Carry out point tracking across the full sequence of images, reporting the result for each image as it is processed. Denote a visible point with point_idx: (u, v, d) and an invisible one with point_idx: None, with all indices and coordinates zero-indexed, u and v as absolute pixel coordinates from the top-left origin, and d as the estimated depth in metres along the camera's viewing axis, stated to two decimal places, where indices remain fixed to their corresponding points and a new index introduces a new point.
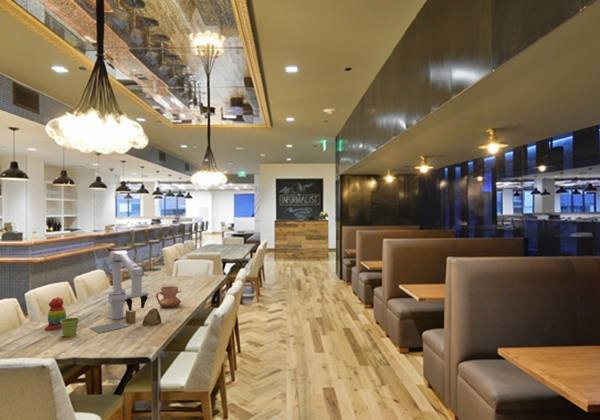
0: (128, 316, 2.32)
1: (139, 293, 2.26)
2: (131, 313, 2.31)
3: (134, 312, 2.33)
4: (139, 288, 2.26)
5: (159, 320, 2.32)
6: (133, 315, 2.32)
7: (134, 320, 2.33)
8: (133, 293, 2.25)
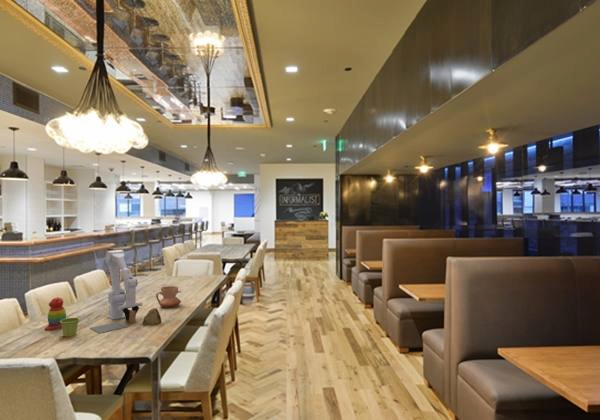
0: None
1: (133, 303, 2.33)
2: (131, 313, 2.31)
3: (134, 312, 2.33)
4: (133, 299, 2.33)
5: (159, 320, 2.32)
6: (133, 315, 2.32)
7: (134, 320, 2.33)
8: (127, 304, 2.31)
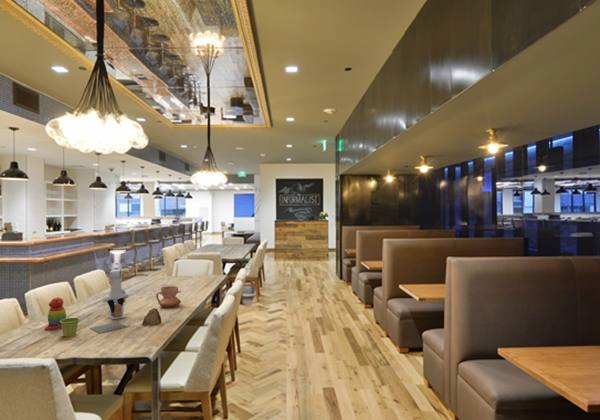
0: (114, 310, 2.23)
1: (118, 295, 2.24)
2: (117, 307, 2.22)
3: (120, 306, 2.23)
4: (118, 290, 2.24)
5: (159, 320, 2.32)
6: (119, 309, 2.23)
7: (120, 314, 2.24)
8: (112, 295, 2.22)
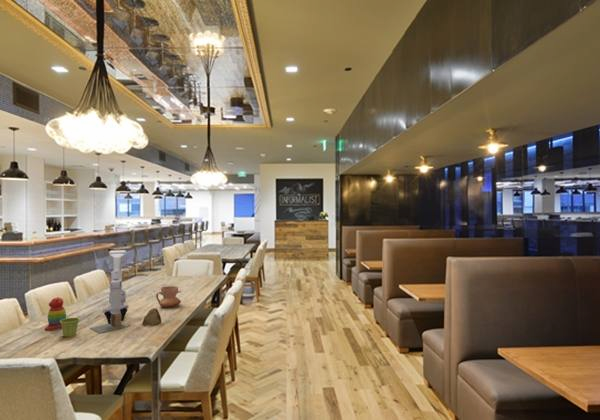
0: (113, 320, 2.23)
1: (118, 306, 2.24)
2: (117, 316, 2.22)
3: (120, 315, 2.23)
4: (118, 301, 2.24)
5: (159, 320, 2.32)
6: (119, 319, 2.23)
7: (120, 324, 2.23)
8: (112, 306, 2.22)
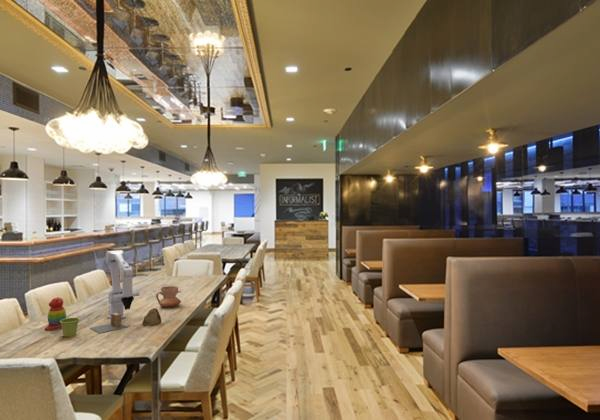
0: (113, 320, 2.23)
1: (130, 293, 2.29)
2: (117, 316, 2.22)
3: (120, 315, 2.23)
4: (130, 288, 2.29)
5: (159, 320, 2.32)
6: (119, 319, 2.23)
7: (120, 324, 2.23)
8: (124, 293, 2.28)
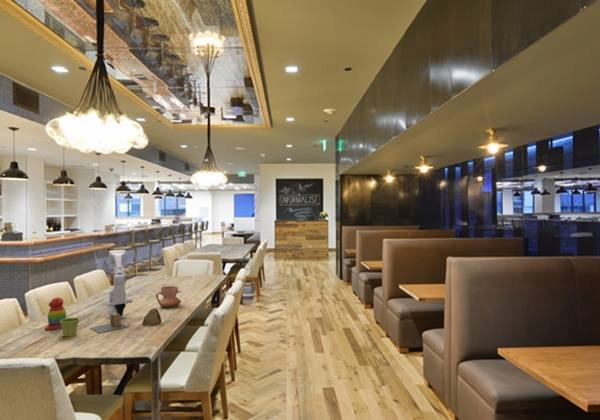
0: (113, 320, 2.22)
1: (122, 300, 2.25)
2: (116, 317, 2.22)
3: (119, 315, 2.23)
4: (122, 295, 2.25)
5: (159, 320, 2.32)
6: (118, 318, 2.23)
7: (120, 323, 2.23)
8: (116, 300, 2.24)
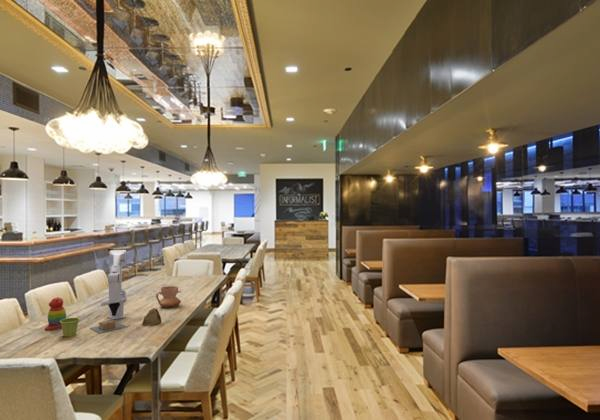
0: None
1: (116, 299, 2.23)
2: (104, 328, 2.17)
3: (104, 325, 2.17)
4: (116, 294, 2.23)
5: (159, 320, 2.32)
6: (107, 325, 2.18)
7: (113, 323, 2.20)
8: (110, 299, 2.22)
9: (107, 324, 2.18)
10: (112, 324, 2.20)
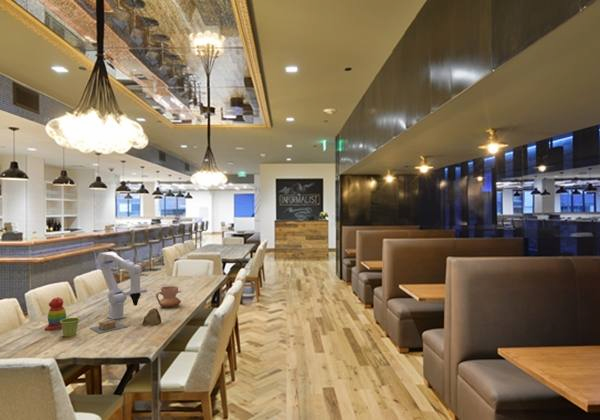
0: None
1: (138, 290, 2.37)
2: (104, 328, 2.17)
3: (104, 325, 2.17)
4: (138, 285, 2.37)
5: (159, 320, 2.32)
6: (107, 325, 2.18)
7: (113, 323, 2.20)
8: (132, 290, 2.36)
9: (107, 324, 2.18)
10: (112, 324, 2.20)
